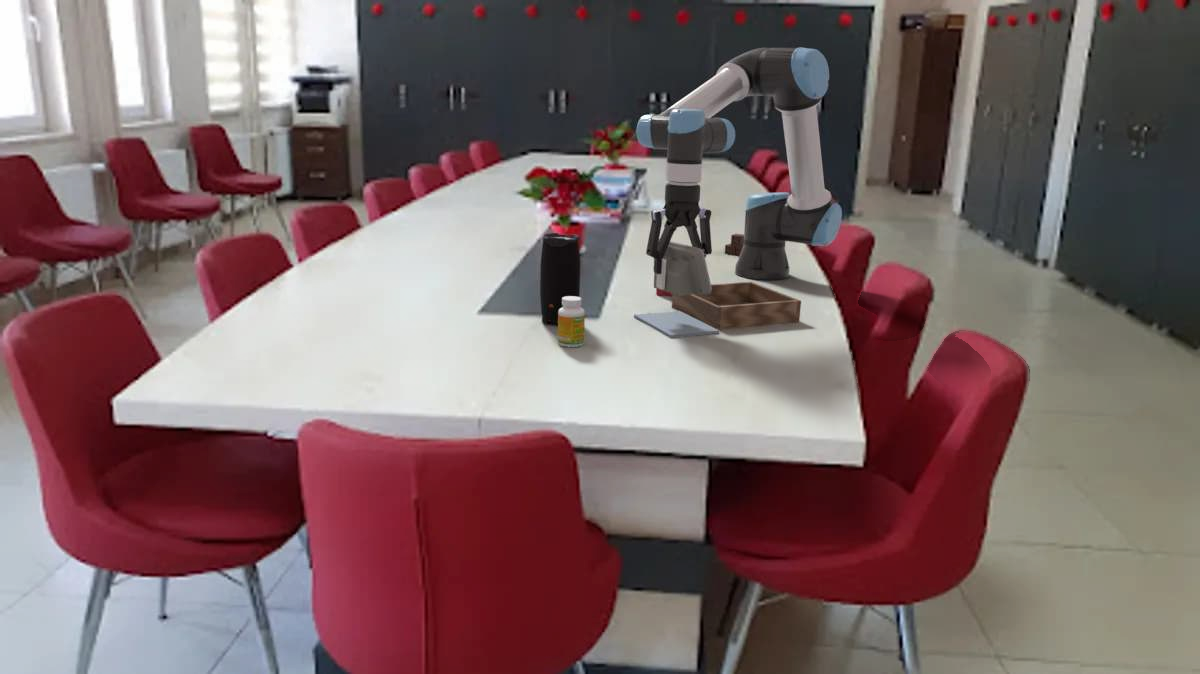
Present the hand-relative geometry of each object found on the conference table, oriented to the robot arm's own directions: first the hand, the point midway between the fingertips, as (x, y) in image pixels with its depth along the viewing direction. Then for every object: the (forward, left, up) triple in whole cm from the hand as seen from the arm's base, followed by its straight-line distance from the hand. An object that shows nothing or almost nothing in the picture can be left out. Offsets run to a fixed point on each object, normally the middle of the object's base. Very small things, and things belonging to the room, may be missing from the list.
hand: (677, 286), depth 206 cm
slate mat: (0, 0, -9) cm, 9 cm away
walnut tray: (-18, -5, -9) cm, 21 cm away
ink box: (-15, -29, -9) cm, 34 cm away
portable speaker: (+24, -10, -9) cm, 27 cm away
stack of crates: (-61, -72, -10) cm, 95 cm away
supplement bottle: (+28, +7, -9) cm, 30 cm away
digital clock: (-1, 0, -1) cm, 1 cm away
